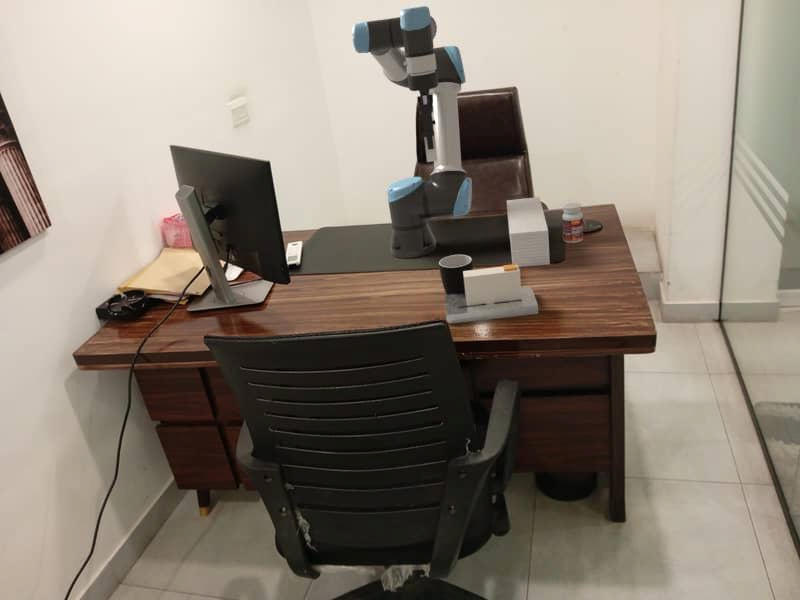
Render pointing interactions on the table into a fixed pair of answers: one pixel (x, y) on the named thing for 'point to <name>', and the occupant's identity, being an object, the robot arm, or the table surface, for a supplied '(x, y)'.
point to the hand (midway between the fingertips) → (431, 155)
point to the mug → (454, 273)
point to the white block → (492, 285)
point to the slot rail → (489, 308)
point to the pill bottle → (572, 223)
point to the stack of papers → (528, 232)
